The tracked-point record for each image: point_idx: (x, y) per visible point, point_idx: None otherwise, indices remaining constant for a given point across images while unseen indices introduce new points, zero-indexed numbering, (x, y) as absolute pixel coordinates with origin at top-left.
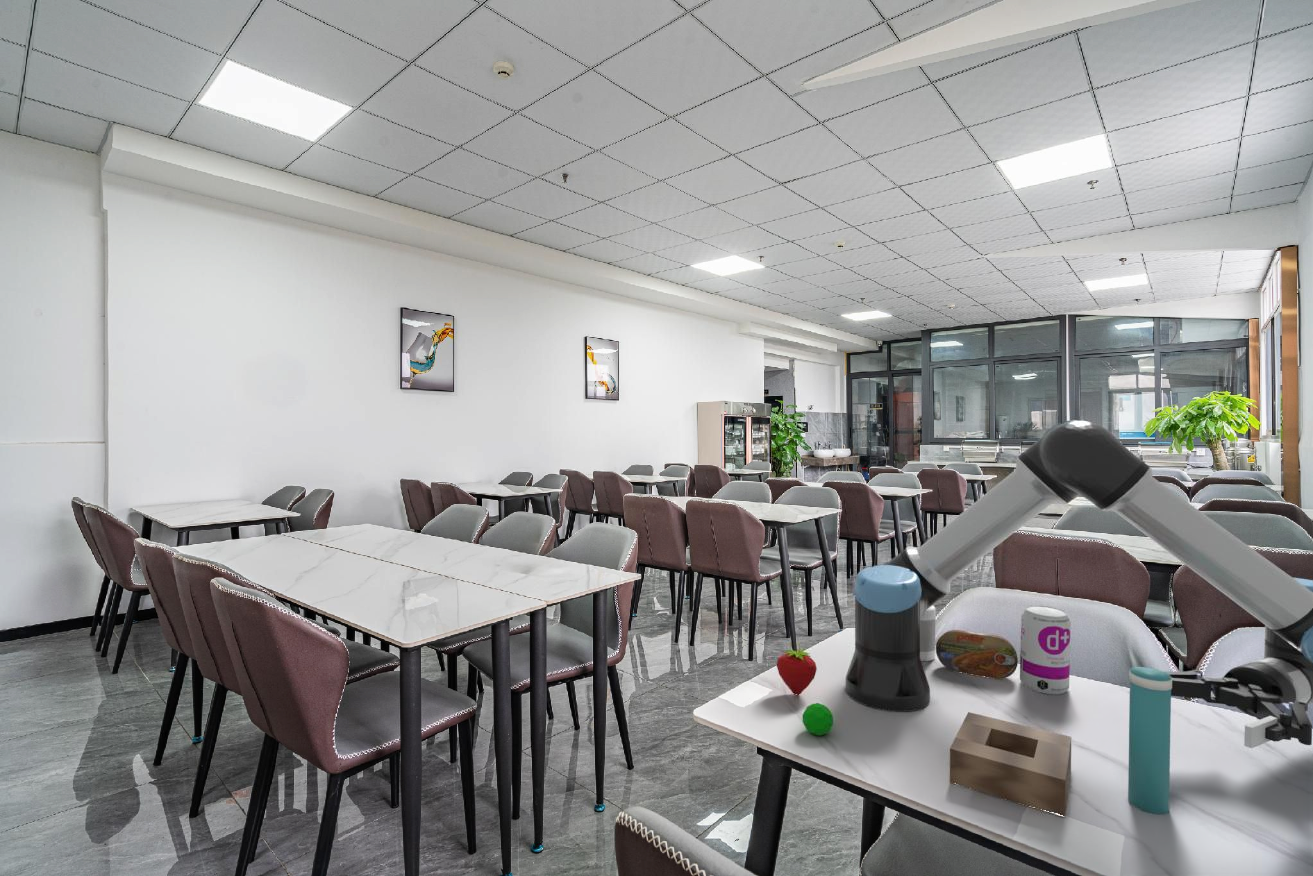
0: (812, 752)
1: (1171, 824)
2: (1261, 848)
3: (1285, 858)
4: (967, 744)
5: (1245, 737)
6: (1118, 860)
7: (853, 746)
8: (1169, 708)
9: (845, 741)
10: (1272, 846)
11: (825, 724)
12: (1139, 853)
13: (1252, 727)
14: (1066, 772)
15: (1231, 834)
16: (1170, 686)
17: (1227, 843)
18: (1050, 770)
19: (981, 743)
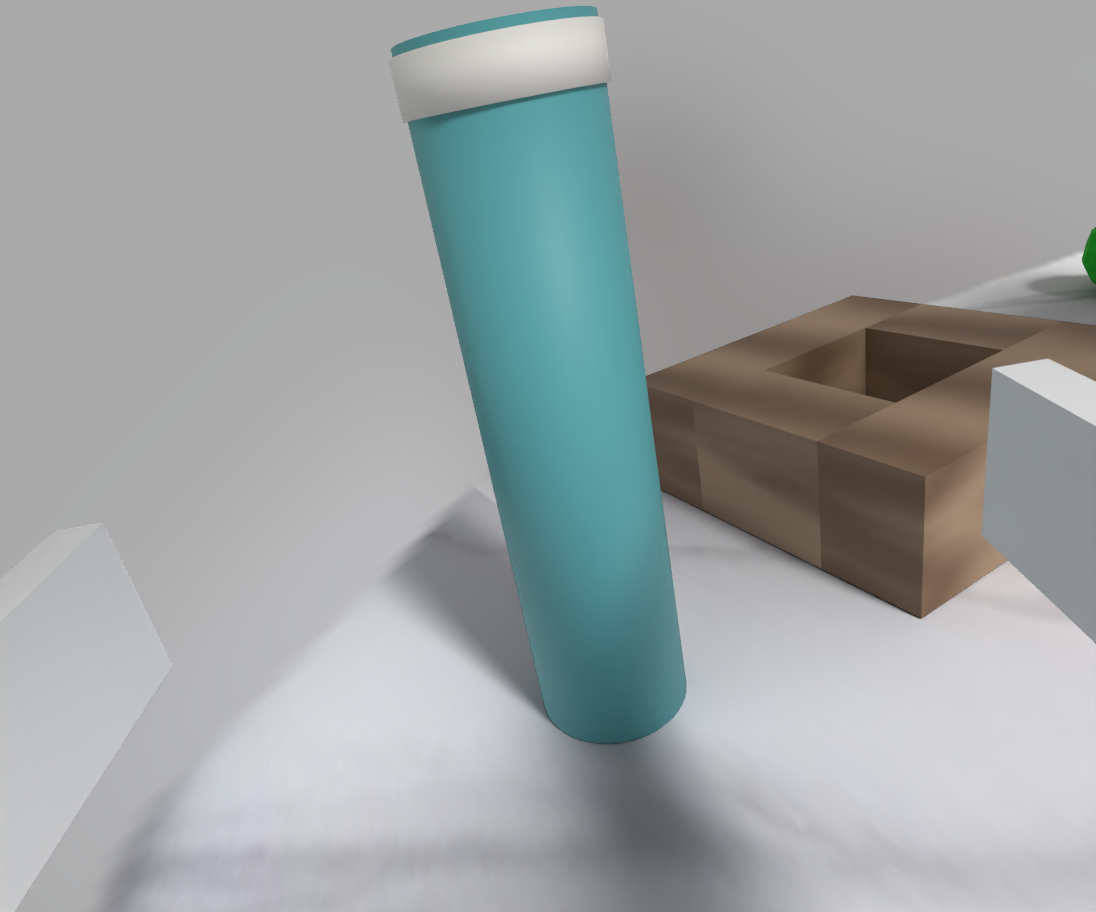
0: (1008, 287)
1: (497, 664)
2: (241, 811)
3: (165, 832)
4: (872, 311)
5: (138, 607)
6: (483, 489)
7: (1054, 316)
8: (435, 240)
9: (1084, 311)
10: (205, 866)
11: (1087, 252)
12: (472, 526)
13: (49, 536)
14: (668, 394)
15: (341, 794)
16: (398, 101)
17: (338, 731)
18: (688, 376)
19: (878, 325)
